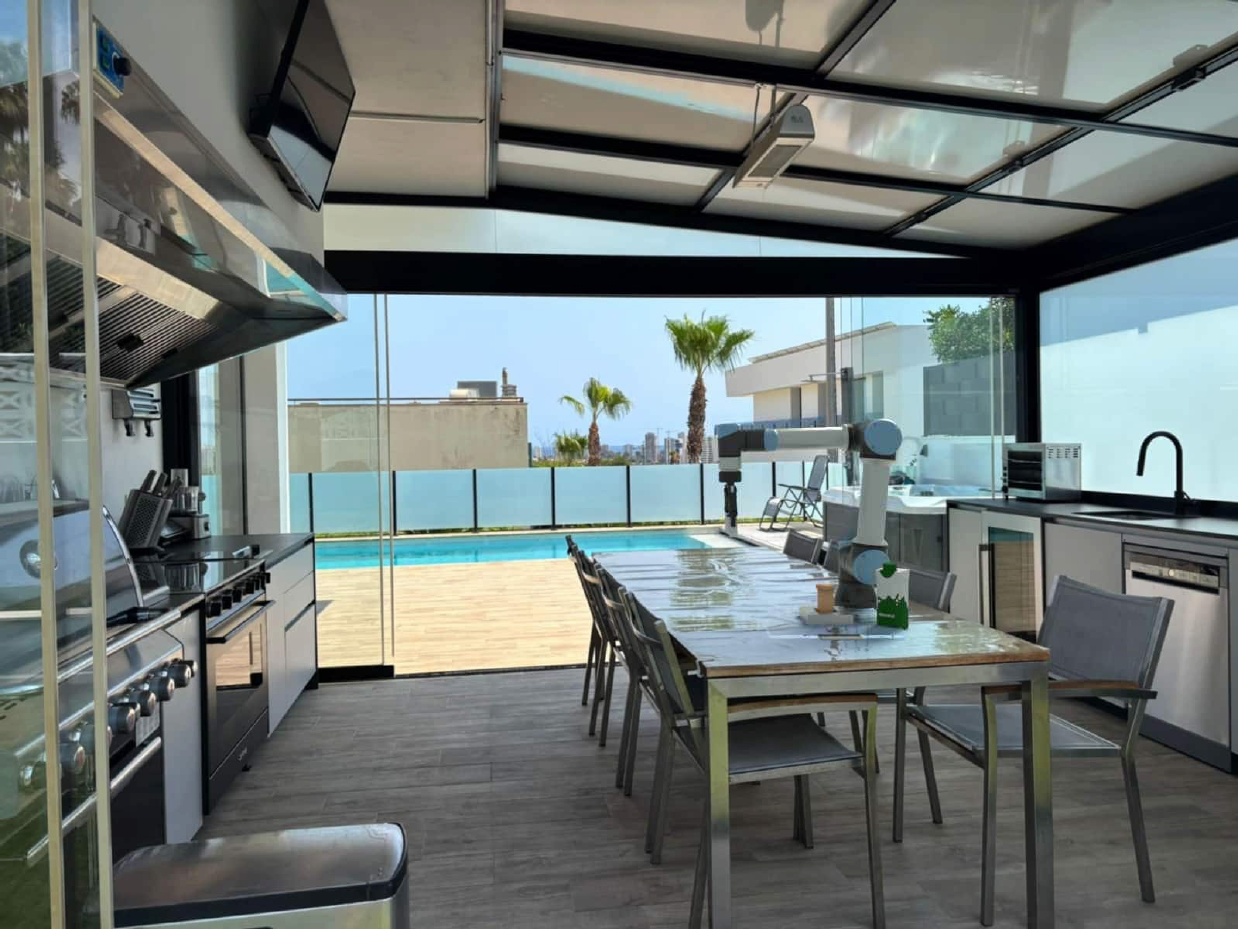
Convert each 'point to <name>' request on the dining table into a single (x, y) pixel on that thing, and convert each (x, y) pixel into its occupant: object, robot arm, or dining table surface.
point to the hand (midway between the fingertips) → (731, 534)
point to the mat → (840, 637)
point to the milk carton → (892, 596)
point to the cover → (825, 597)
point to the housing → (826, 616)
